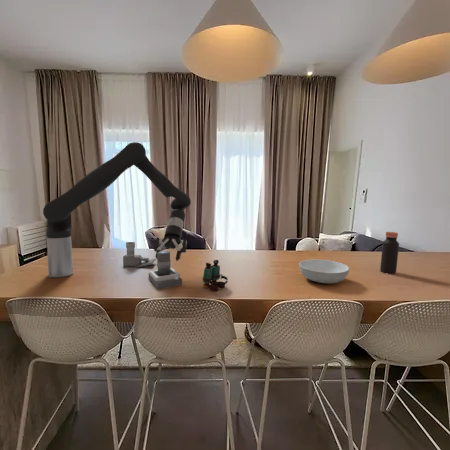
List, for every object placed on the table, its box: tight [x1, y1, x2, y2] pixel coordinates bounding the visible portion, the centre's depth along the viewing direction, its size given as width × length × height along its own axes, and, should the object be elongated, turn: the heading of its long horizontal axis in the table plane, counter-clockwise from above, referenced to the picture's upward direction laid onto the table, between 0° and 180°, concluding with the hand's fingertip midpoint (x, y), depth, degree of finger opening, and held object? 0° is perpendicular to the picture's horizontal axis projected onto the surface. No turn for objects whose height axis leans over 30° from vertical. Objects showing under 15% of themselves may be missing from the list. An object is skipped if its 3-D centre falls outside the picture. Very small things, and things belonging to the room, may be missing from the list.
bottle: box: [379, 231, 400, 275], centre depth 132 cm, size 7×7×20 cm
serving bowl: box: [298, 258, 350, 284], centre depth 120 cm, size 21×21×7 cm
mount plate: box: [148, 267, 183, 290], centre depth 114 cm, size 10×14×4 cm
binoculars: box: [202, 259, 229, 292], centre depth 107 cm, size 9×11×10 cm
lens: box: [156, 250, 172, 277], centre depth 113 cm, size 6×6×10 cm
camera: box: [122, 241, 157, 268], centre depth 137 cm, size 9×12×15 cm
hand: (167, 259), depth 116 cm, fingers open, 8 cm apart
